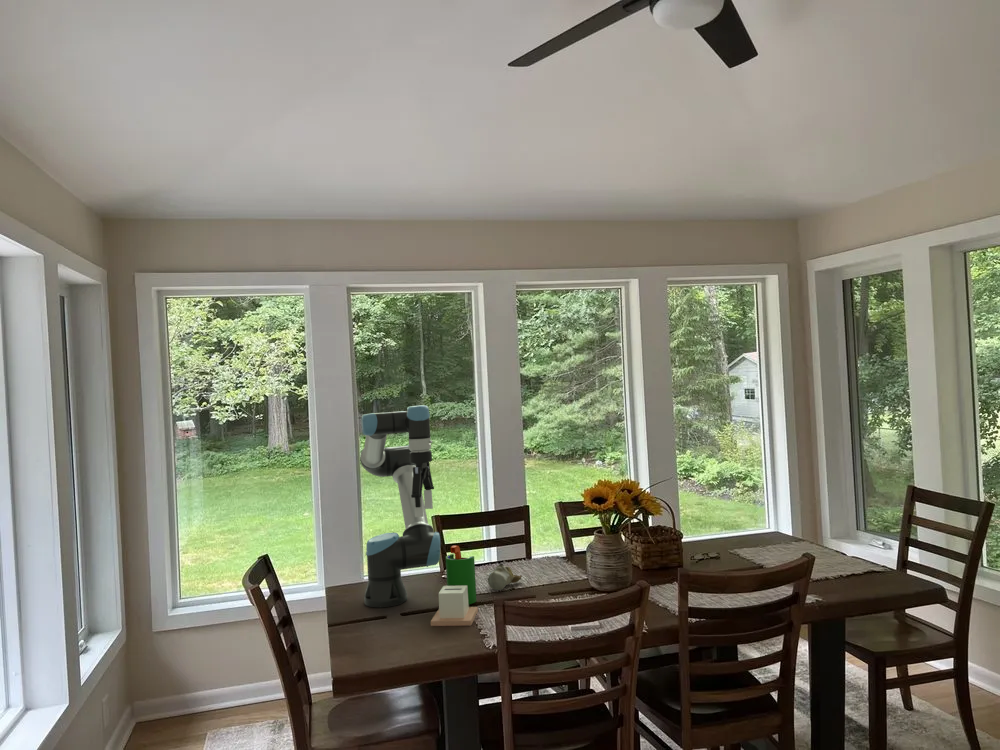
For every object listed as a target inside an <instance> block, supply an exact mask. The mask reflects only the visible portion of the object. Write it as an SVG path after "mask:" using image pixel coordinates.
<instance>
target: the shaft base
mask: <svg viewBox="0 0 1000 750" xmlns="http://www.w3.org/2000/svg"><path fill="white" fill-rule="evenodd" d="M478 612H479V608H478V606H469V610H468V612H467V614H466V616H465V618H440V612H439V608H438V610H437V611H436V612H435V614H434V615H433V616H432V619H431V620H430V626H431V627H439V626H440V627H441V626H442V627H446V626H450V627H452V626H454V627H456V626H459V627H460V626H472V624H473V623H474V621H475V619H476V617H475V616H477V615H476V614H478Z"/></svg>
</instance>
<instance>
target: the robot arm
mask: <svg viewBox="0 0 1000 750" xmlns="http://www.w3.org/2000/svg"><path fill="white" fill-rule="evenodd" d="M406 409H407V410H405V411H391V412H390V411H389V412H376V413H374V412H372V413H367V414H362V415H361V433H362V435H364V436H365V438H364V447H363V448H362V450H361V452H360V455H359V456H360V457H359V459H360V460H359V461H360V464H361V466H362V467H363V469H364V470H365V471H366V472H368V473H369V474H371V475H373V476H376V477H381V478H383V477H385V478H386V477H392V479H393V482H395V483H396V484H397V486H398V494H399V499H400V504H401V510H402V516H403V522H404V528H405V529H404V531H403V532H402V535H401V536H400V535H399V534H398V533H397V532H385V533H381V534H379V535H375V536H372V537H370V538H369V539H368V540H367V542H366V545H365V546H366V552H365V555H366V563H367V585H366V589H365V592H364V598H363V599H364V600H363V601H364V605H365V606H367V607H370V608H388V607H390V608H391V607H394V606H398V605H401V604H403V603H405V602H406V601H407V600H408V592H407V589H406V586H405V584H404V582H403V578H402V573H401V572H402V571H403V570H408V569H417V568H424V567H426V568H428V567H431V566H436V565H438V564H439V562H440V560H441V536H440V535H441V534H440V532H439V531H434V527H433V526H432V525H431V524H429V521H428V515H427V511H426V510H430V509H431V510H433V508H434V506H433V505H434V504H433V490H434V489H435V486H434V484H433V478H432V472H431V467H430V466H431V465H430V463H431V462H432V460H433V454H432V453H433V452H432V450H431V449H432V443H433V440H432V439H431V423H430V417H431V414H430V408H429V406H427V405H412V406H411V405H410V406H408V407H407V408H406ZM403 433H408V444H407V445H403V446H402V445H401V446H389V447H388V446H387V447H386V442H387V438H388V437H387V436H388V435H389V434H391V435H392V434H403ZM423 488H424V490H423Z"/></svg>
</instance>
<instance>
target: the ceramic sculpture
mask: <svg viewBox="0 0 1000 750" xmlns="http://www.w3.org/2000/svg"><path fill="white" fill-rule="evenodd" d="M522 577H523V575H522V574H521V575H516V574H514V573H513V571H512V569H511V567H509V566H508V565H504V564H503V563H499V564H498V565H497V566H496V567H495V569H494V570H493V571H492V572H490V574H489V575H488V577H487V582H488V586H489V587H490V588H491V589H492V590H495V591H501V590H504V588H505V587H506V585H507V586H508V585H510V584H515V583H518V582H519V581H520V580H521V579H522Z"/></svg>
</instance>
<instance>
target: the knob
mask: <svg viewBox="0 0 1000 750" xmlns="http://www.w3.org/2000/svg"><path fill="white" fill-rule="evenodd" d="M437 595H438V606H439V607H438V609H439V612H440V618H465V616H466V614H467V612H468V610H469V607H470V604H468V587H467V585H465V586H447V585H443V586H442V587H441V589H440V591H439V592H438V594H437Z"/></svg>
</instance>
